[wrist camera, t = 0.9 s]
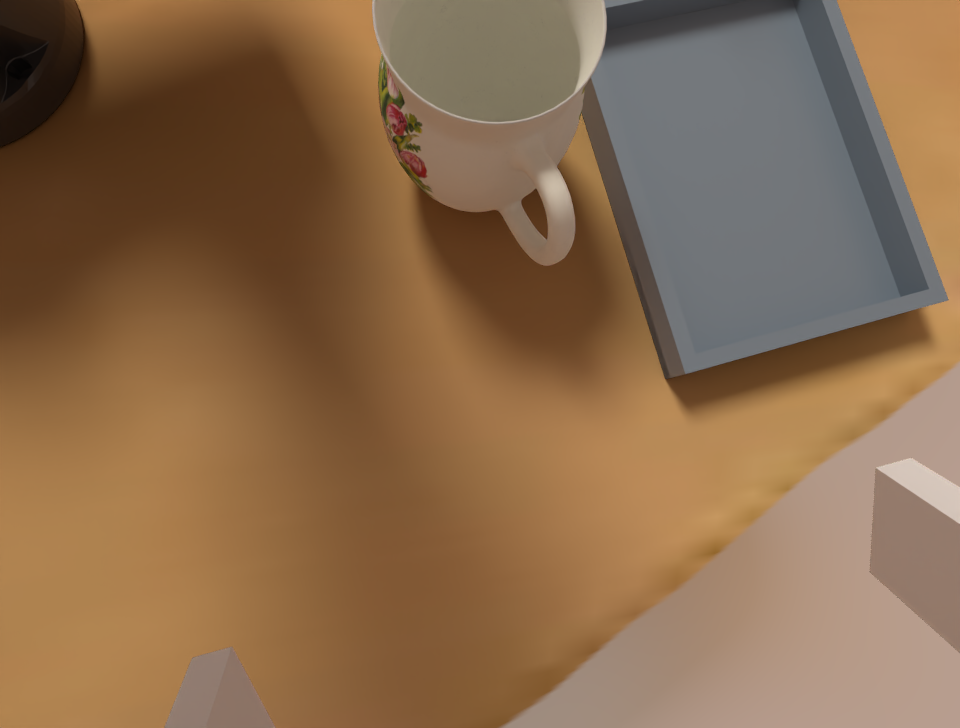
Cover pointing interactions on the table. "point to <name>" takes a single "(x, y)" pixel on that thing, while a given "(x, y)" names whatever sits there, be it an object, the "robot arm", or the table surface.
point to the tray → (750, 177)
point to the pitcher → (489, 102)
